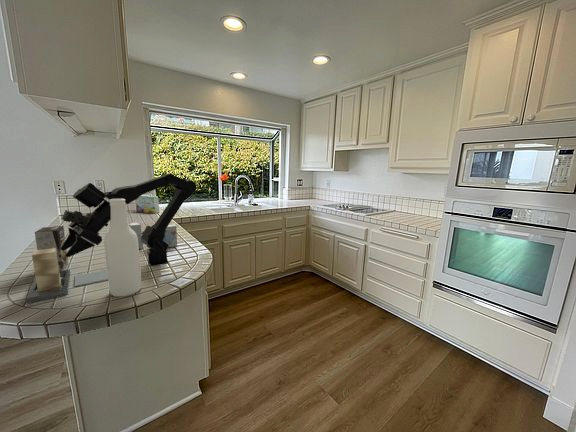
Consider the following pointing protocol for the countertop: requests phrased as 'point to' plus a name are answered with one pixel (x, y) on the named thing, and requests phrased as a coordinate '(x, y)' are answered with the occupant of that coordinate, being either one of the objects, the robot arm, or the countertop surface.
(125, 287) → the alcohol
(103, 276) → the mat
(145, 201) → the snack box
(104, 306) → the countertop surface
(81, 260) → the countertop surface
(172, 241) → the light bulb box
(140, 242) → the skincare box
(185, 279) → the countertop surface
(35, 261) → the tan wooden block
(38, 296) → the frame
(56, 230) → the coffee box
